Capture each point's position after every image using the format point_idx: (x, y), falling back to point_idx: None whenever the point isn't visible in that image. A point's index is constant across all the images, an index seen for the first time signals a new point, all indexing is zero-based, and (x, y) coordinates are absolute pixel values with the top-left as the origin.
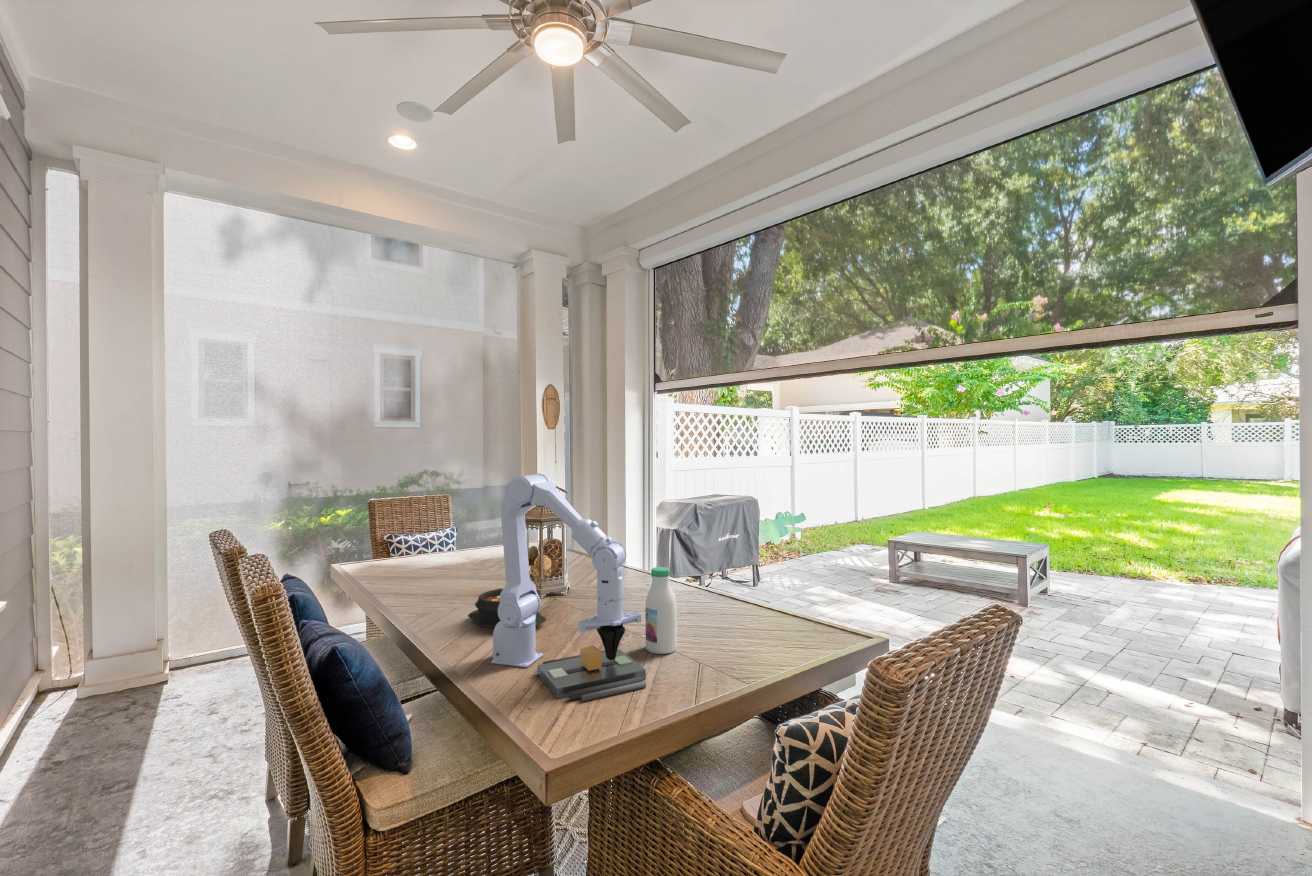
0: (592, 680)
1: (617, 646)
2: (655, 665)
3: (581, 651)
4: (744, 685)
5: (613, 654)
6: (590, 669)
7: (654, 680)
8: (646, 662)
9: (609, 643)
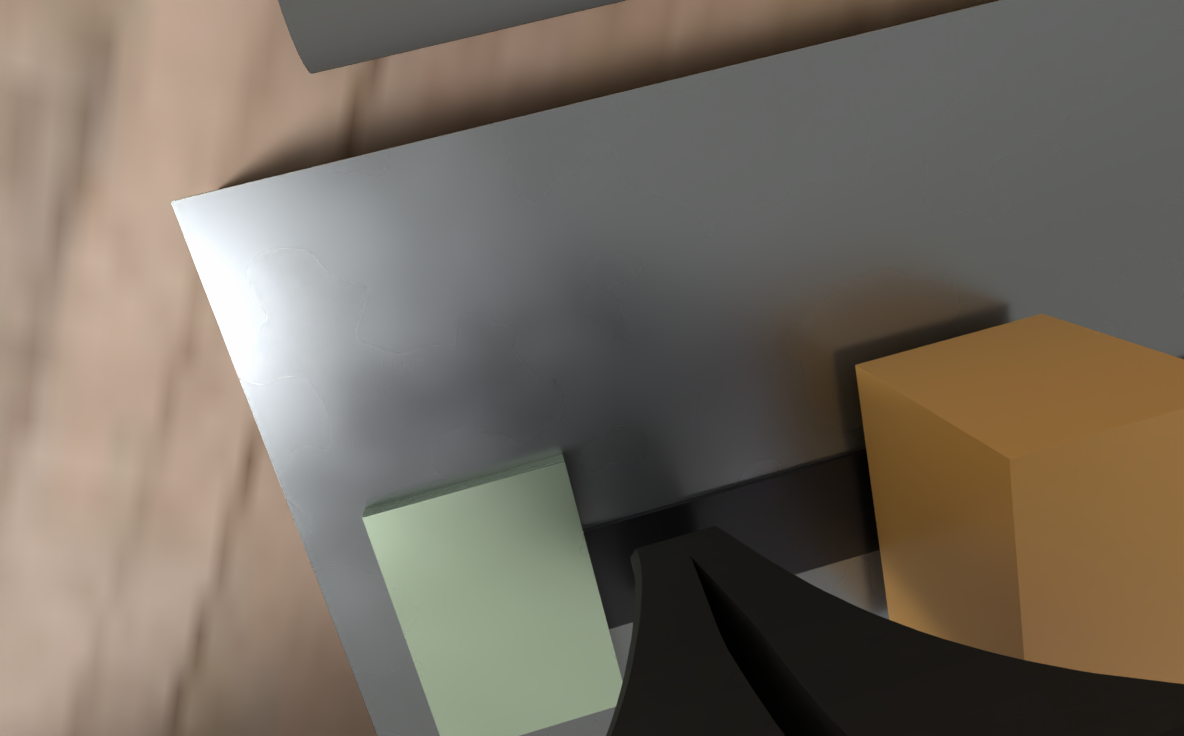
0: (1053, 11)
1: (645, 652)
2: (26, 603)
3: None
4: None
5: (688, 564)
6: (1024, 321)
7: (86, 104)
8: (148, 709)
9: (869, 644)
